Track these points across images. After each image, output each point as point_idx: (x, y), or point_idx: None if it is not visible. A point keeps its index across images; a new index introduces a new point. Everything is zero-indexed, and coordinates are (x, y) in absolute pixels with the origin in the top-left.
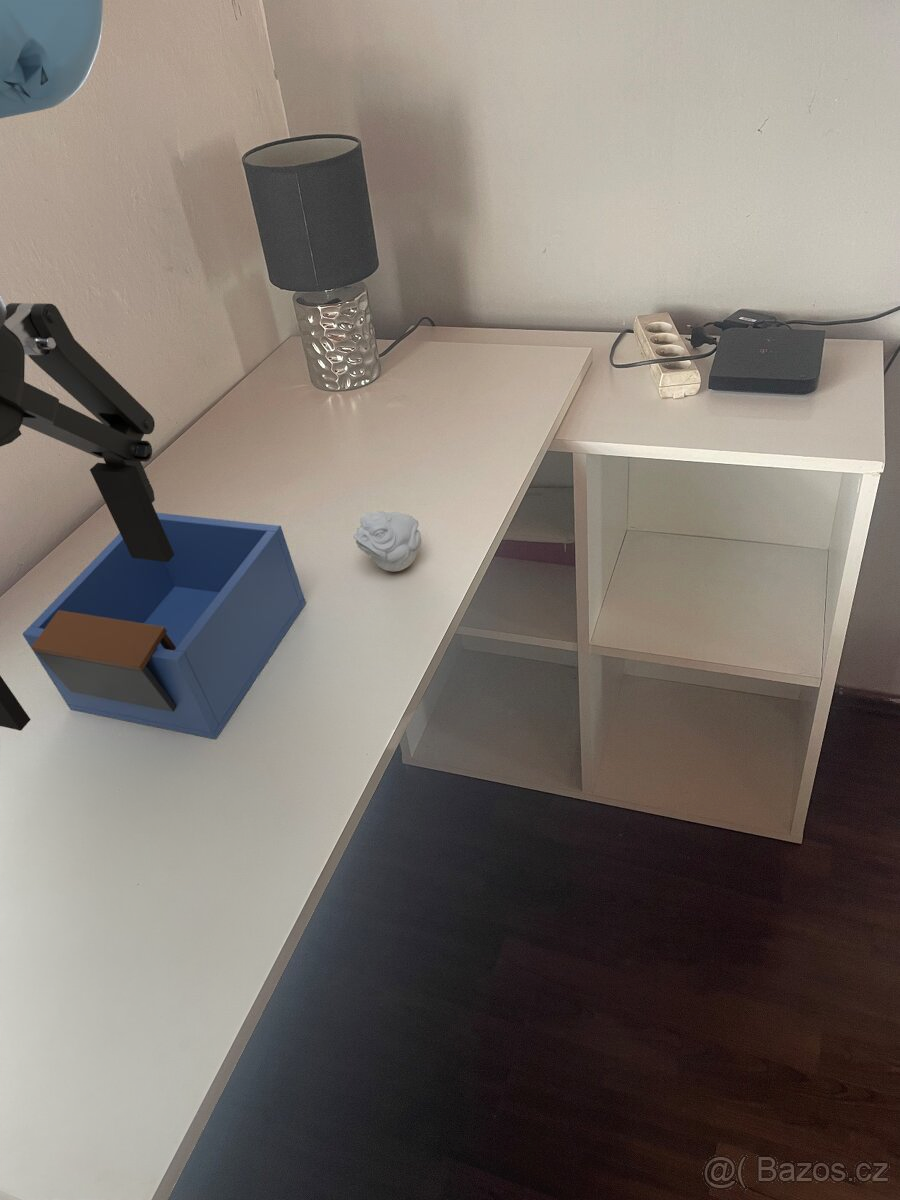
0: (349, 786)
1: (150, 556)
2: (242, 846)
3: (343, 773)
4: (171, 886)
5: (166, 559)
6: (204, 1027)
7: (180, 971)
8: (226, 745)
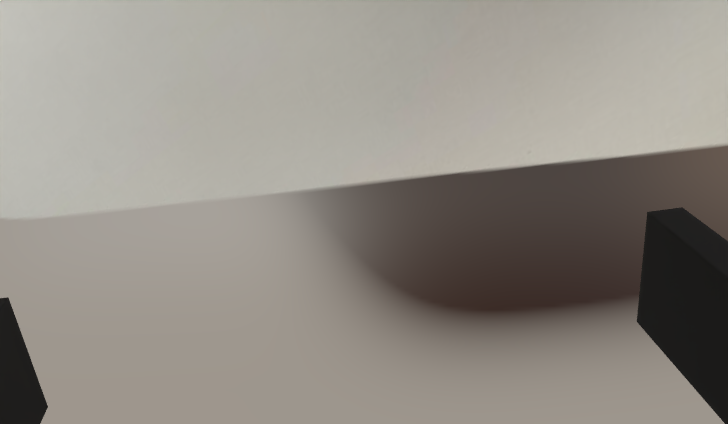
0: (473, 157)
1: (648, 283)
2: (343, 71)
3: (491, 138)
4: (251, 11)
5: (642, 325)
6: (125, 174)
7: (162, 104)
8: None
